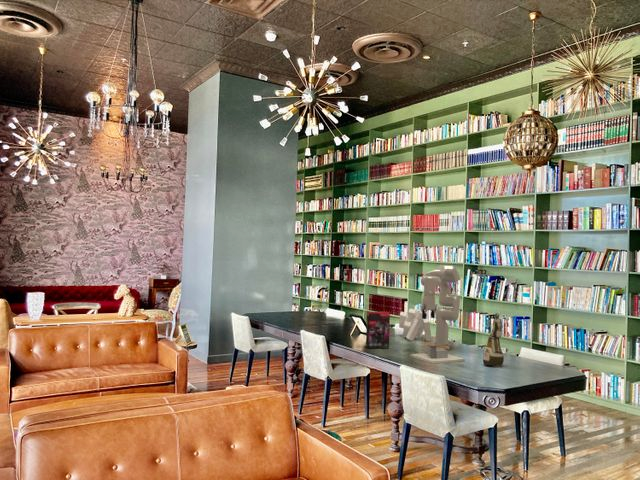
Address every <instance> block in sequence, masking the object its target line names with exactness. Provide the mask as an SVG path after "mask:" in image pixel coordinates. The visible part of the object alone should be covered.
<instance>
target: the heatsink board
mask: <svg viewBox="0 0 640 480" xmlns="http://www.w3.org/2000/svg"><path fill="white" fill-rule="evenodd" d="M427 347H428V348H426V352H425V353H411V354H410V357H411V358H413V359H418V360H421V361H422V362H426V363H430V364H432V365H434V364H446V363H458V362H459V363H460V362H461V363H462V362H465V361H466V360H465V358H462V357H459V356H456V355H453V354H449V350H448V349H446V348H445V349H441V348H436V346H434V345H428V346H427Z"/></svg>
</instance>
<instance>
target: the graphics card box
mask: <svg viewBox="0 0 640 480" xmlns="http://www.w3.org/2000/svg"><path fill="white" fill-rule="evenodd" d="M390 316H391V313H390V312H389V311H370V310H369V311H366V328H365V329H366V330H365V334H366V335H365V337H366V338H365V347H366V348H367V349H390V325H391V324H390V320H391V317H390Z"/></svg>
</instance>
